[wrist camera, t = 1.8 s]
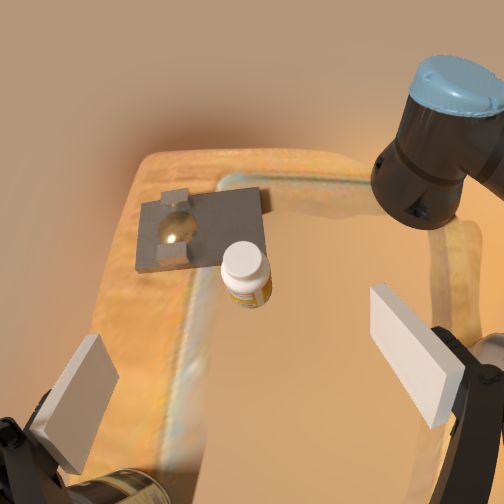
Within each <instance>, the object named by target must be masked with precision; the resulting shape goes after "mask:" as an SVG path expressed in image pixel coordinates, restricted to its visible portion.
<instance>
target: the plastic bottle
mask: <svg viewBox="0 0 504 504" xmlns="http://www.w3.org/2000/svg"><path fill="white" fill-rule="evenodd" d="M467 349H468V350H469V351H470V352H471V353H472V354H473V356H474V357H475V358H476V359H477V360H478V361H479V362H480V363H481V364H492V365H495V366H497V367H499V368H500V369H501V370H502V371H504V333H493V334H490V335H488V336H486V337H484V338H482V339H481V340H479V341H478V342H476V343H475V344H474V345H472V346H471V347H469V348H467Z"/></svg>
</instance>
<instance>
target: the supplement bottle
mask: <svg viewBox="0 0 504 504" xmlns="http://www.w3.org/2000/svg"><path fill="white" fill-rule="evenodd" d="M221 275H222V278H223V281H224V283H225V285H226V287H227V289H228V291H229V293H230V295H231V297H232V299H233V300H234V301H235V303H236V304H238V305H239V306H241V307H243V308H247V309H254V308H258V307H260V306H262V305H263V304H265V303H266V302H267V301H268V299H269V297H270V296H271V293H272V281H271V271H270V264H269V262H268V259H267V257H266V256H265V255H264V254H263V253H262V252H261V251H260V249H259V248H258V247H257V246H256V245H255V244H253V243H251V242H248V241H240V242H236V243H234V244H232V245H231V246H229V247H228V248H227V250H226V251H225V253H224V256H223V262H222V266H221Z"/></svg>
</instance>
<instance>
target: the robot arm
mask: <svg viewBox="0 0 504 504" xmlns="http://www.w3.org/2000/svg"><path fill="white" fill-rule="evenodd" d="M467 174H468V175H469V176H471V177H472V178H474V179H475V180H476V181H478V182H479V183H480V184H482V185H483V186H485V187H486V188H487V189H489V190H490V191H491V192H493V193H494V194H495V195H496V196H498V197H499V198H500V199H502V200H503V201H504V83H503V82H502V81H501V80H500V79H498V78H496V77H495V75H494V74H493V73H492V72H490V71H489V70H488V69H485V68H484V67H482V66H480V65H478V64H476V63H474V62H472V61H469V60H466V59H463V58H459V57H455V56H448V55H446V56H445V55H437V56H431V57H429V58H427V59H425V60H423V61H422V62H421V63H420V65H419V66H418V68H417V71H416V74H415V77H414V80H413V82H412V83H411V84H410V87H409V96H408V99H407V102H406V106H405V109H404V112H403V116H402V119H401V122H400V125H399V128H398V132H397V134H396V138H395V139H394V140H393V141H392V142H391V143H390V144H389V145H388V146H387V148H385V149H384V151H383V152H382V153H381V154H380V155H379V157H378V158H377V160H376V161H375V164H374V167H373V170H372V174H371V186H372V190H373V193H374V195H375V197H376V199H377V201H378V202H379V204H380V205H381V206H382V208H383V209H384V210H385V211H386V212H387V213H388V214H389V215H390V216H392V217H393V218H394V219H396V220H397V221H399V222H401V223H402V224H404V225H406V226H409V227H412V228H415V229H420V230H432V229H437V228H439V227H442V226H443V225H445V224H446V223H447V222H448V221H449V220H450V219H451V218H452V216H453V215H454V214H455V212H456V210H457V208H458V206H459V203H460V197H461V193H462V187H463V182H464V179H465V177H466V176H467ZM370 301H371V302H370V303H371V320H370V322H371V323H370V335H371V337H372V338H373V340H374V341H375V343H376V344H377V346H378V347H379V349H380V350H381V352H382V353H383V355H384V356H385V358H386V359H387V361H388V363H389V364H390V366H391V367H392V368H393V370H394V372H395V373H396V375H397V376H398V378H399V379H400V381H401V383H402V384H403V386H404V387H405V389H406V390H407V392H408V393H409V395H410V397H411V398H412V400H413V401H414V403H415V405H416V406H417V408H418V409H419V411H420V413H421V414H422V416H423V417H424V419H425V421H426V422H427V424H428V426H429V427H430V429H433V428H435V427H437V426H439V425H442V424H444V423H446V422H448V420H449V417H450V414H451V412H453V414H454V415H455V417H456V421H455V423H454V426H453V428H452V431H451V433H450V435H451V439H450V443H449V446H448V450H447V453H446V457H445V460H444V463H443V466H442V469H441V472H440V475H439V478H438V481H437V484H436V487H435V489H434V492H433V495H432V497H431V500H430V502H429V504H487V503H488V500H489V496H490V492H491V487H492V483H493V478H494V474H495V468H496V463H497V457H498V451H499V444H500V436H501V429H502V436H503V444H504V371H502V370H501V369H500V368H499V367H497V366H495V365H492V364H481V363H480V362H479V361H478V360H477V359H476V358H475V357H474V356H473V354H472V353H471V352H470V351H469V350H468V349H467V348H466V347H465V346H464V345H462V343H461V342H460V341H459V340H458V339H457V340H456V337H455V336H454V335H453V334H452V333H451V332H450V331H448V330H446V329H444V328H442V327H440V326H437V327H434V328H431V329H430V328H429V327H428V326H427V325H426V324H425V323H424V322H423V321H422V320H421V319H420V318H419V317H418V316H417V315H416V314H415V313H414V312H413V311H412V310H411V309H410V308H409V307H408V306H407V305H406V304H405V303H404V302H403V301H402V300H401V299H400V298H399V297H398V296H397V295H396V294H395V293H394V292H393V291H392V290H391V289H390V288H389V287H388V286H387V285H386V284H385V283H384V284H379V285H375V286H371V287H370ZM118 379H119V375H118V373H117V371H116V369H115V367H114V365H113V363H112V361H111V359H110V356H109V354H108V352H107V350H106V348H105V346H104V343H103V341H102V339H101V337H100V334H92V335H87V336H86V337H85V339H84V340H83V342H82V343H81V345H80V346H79V348H78V349H77V351H76V352H75V354H74V355H73V357H72V358H71V360H70V361H69V363H68V365H67V366H66V368H65V369H64V371H63V373H62V374H61V376H60V377H59V379H58V380H57V382H56V384H55V385H54V387H53V389H50V390H49V391H48V392H47V393H46V394H45V395H44V396H43V397H42V399H41V401H40V402H39V405H38V406H37V407H36V409H35V412H33V414H32V415H31V417H30V419H29V421H28V422H27V424H26V426H25V428H24V429H23V431H22V429H21V428H20V427H19V426H18V424H17V423H16V422H15V420H14V419H13V418H11V417H4V418H1V419H0V504H73V502H72V500H71V498H70V495H69V493H68V491H67V489H66V486H65V484H64V482H63V479H62V477H61V475H60V474H59V472H58V471H57V468H58V466H59V465H60V466H61V467H62V469H63V470H64V471H65V472H66V473H69V474H75V475H82V472H83V469H84V466H85V463H86V460H87V458H88V455H89V452H90V449H91V447H92V444H93V441H94V439H95V436H96V433H97V431H98V428H99V425H100V423H101V420H102V418H103V415H104V413H105V410H106V408H107V405H108V403H109V400H110V398H111V395H112V393H113V390H114V388H115V386H116V383H117V381H118Z"/></svg>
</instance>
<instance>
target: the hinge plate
mask: <svg viewBox="0 0 504 504" xmlns="http://www.w3.org/2000/svg"><path fill="white" fill-rule="evenodd" d="M240 241H248V242H251V243H253V244H255V245H256V246H257V247H258V248H259V249H260V251H261V252H262V253H263V254H264V255H265V256H266V257H267V255H266V246H265V237H264V229H263V220H262V210H261V202H260V193H259V187H253V188H244V189H236V190H228V191H220V192H213V193H206V194H198V195H192V196H191V194H190V192H189V190H188V188H185V189H179V190H172V191H166V192H162V193H161V200H159V201H153V202H147V203H142V204H141V212H140V221H139V230H138V241H137V252H136V264H135V270H136V271H137V272H138V273H139V274H142V273H152V272H161V271H171V270H180V269H190V268H199V267H209V266H218V265H222V262H223V256H224V253H225V251H226V250H227V248H228V247H229V246H231V245H232V244H234V243H236V242H240Z"/></svg>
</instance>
